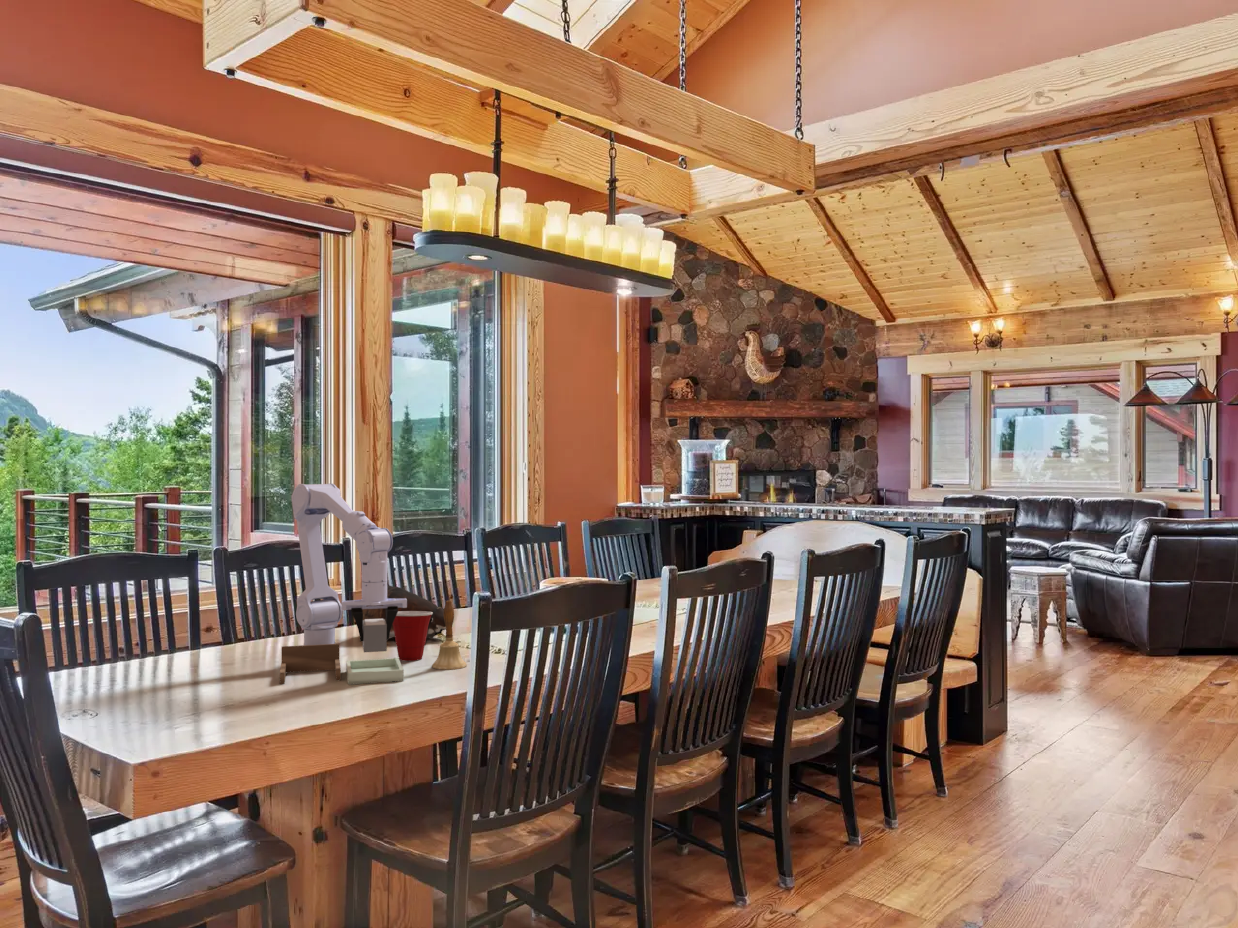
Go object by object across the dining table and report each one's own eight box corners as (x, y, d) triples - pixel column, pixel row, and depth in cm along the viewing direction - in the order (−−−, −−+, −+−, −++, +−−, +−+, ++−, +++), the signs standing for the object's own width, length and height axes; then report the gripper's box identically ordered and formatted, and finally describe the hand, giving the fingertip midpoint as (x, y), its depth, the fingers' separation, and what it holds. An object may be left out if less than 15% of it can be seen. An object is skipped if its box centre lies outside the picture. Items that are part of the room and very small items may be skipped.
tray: (346, 671, 224) (346, 660, 224) (398, 668, 228) (398, 657, 228) (348, 684, 211) (348, 673, 211) (403, 680, 214) (403, 669, 214)
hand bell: (459, 670, 225) (459, 603, 225) (426, 669, 227) (426, 602, 227) (471, 663, 234) (471, 598, 234) (439, 662, 235) (440, 597, 235)
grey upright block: (362, 645, 222) (362, 619, 222) (384, 644, 224) (384, 618, 224) (363, 652, 214) (363, 624, 214) (386, 651, 216) (386, 623, 216)
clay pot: (445, 601, 257) (364, 581, 263) (432, 657, 256) (351, 635, 262) (467, 601, 271) (389, 581, 277) (454, 654, 270) (376, 633, 276)
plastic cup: (438, 654, 244) (438, 608, 244) (425, 663, 233) (425, 614, 233) (397, 653, 245) (397, 607, 245) (382, 662, 234) (382, 613, 235)
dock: (281, 671, 223) (281, 646, 223) (339, 668, 227) (339, 643, 227) (279, 684, 211) (279, 657, 211) (340, 680, 215) (340, 653, 215)
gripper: (342, 584, 213) (342, 644, 213) (408, 582, 218) (408, 641, 218) (341, 580, 220) (341, 639, 220) (405, 578, 224) (405, 636, 224)
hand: (374, 640), depth 219 cm, fingers closed on grey upright block, 5 cm apart
